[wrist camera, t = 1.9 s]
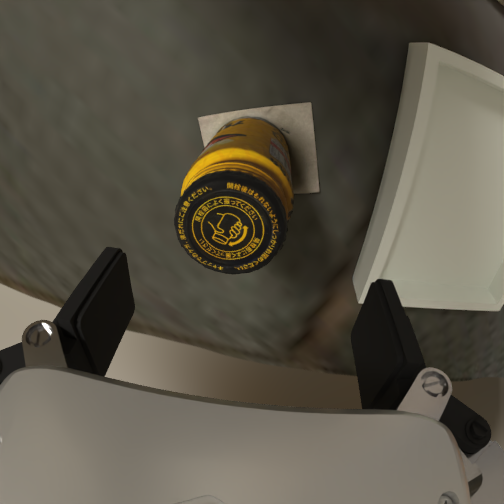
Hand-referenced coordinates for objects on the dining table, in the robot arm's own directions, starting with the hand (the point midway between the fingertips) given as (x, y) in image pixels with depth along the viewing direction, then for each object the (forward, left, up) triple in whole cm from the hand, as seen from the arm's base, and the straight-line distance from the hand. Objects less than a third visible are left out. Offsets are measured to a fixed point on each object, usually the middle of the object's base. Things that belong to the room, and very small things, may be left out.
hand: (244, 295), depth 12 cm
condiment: (-1, 0, -16) cm, 16 cm away
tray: (-1, +19, -15) cm, 24 cm away
